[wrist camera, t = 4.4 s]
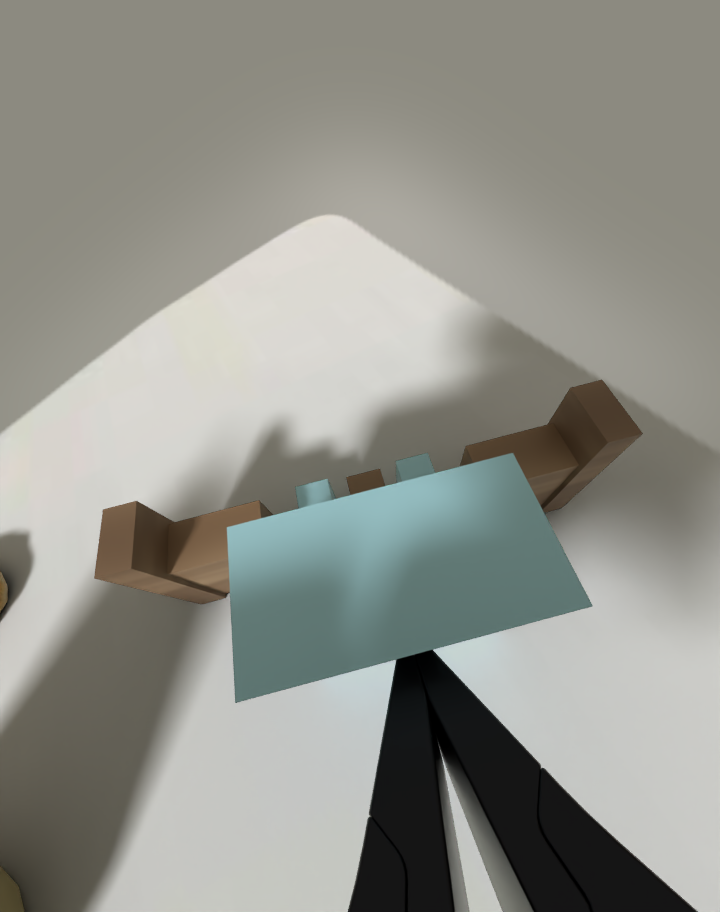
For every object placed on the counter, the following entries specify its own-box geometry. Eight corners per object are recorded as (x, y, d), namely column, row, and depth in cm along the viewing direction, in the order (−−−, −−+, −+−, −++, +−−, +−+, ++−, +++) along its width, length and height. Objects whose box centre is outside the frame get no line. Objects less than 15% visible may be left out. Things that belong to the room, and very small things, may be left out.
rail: (561, 507, 18) (642, 433, 12) (201, 604, 18) (94, 578, 11) (538, 466, 19) (602, 379, 13) (201, 556, 19) (103, 509, 13)
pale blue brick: (498, 630, 16) (592, 606, 8) (320, 678, 16) (235, 703, 8) (437, 471, 20) (459, 350, 12) (294, 509, 19) (220, 411, 12)
